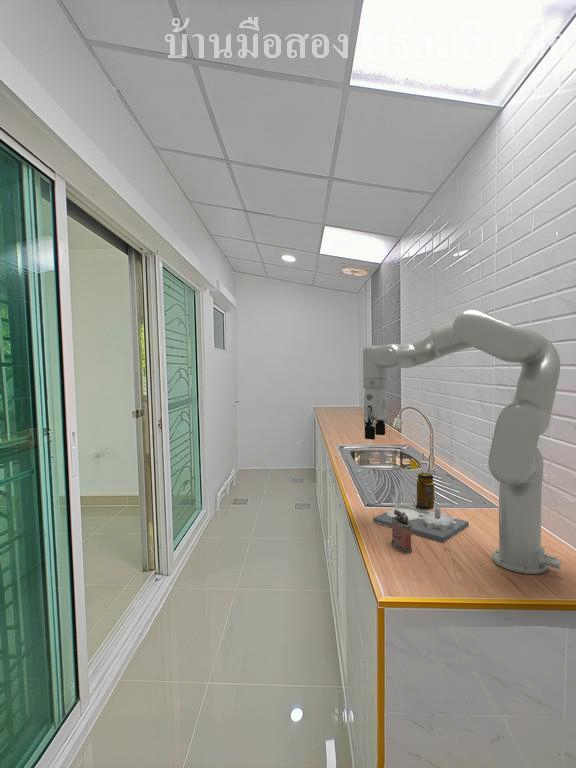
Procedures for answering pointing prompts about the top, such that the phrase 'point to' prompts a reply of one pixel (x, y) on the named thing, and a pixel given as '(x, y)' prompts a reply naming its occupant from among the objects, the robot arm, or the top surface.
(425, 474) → the condiment
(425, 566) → the top surface
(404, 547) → the lighter
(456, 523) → the gear board
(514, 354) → the robot arm
